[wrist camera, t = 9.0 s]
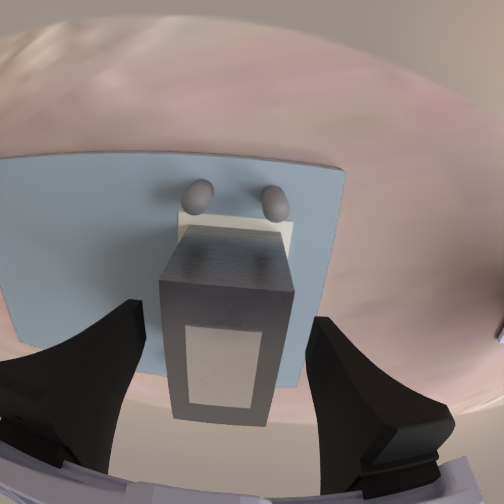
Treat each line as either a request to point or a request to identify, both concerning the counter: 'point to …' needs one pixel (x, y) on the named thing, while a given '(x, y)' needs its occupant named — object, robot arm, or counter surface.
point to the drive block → (225, 323)
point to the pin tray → (150, 235)
